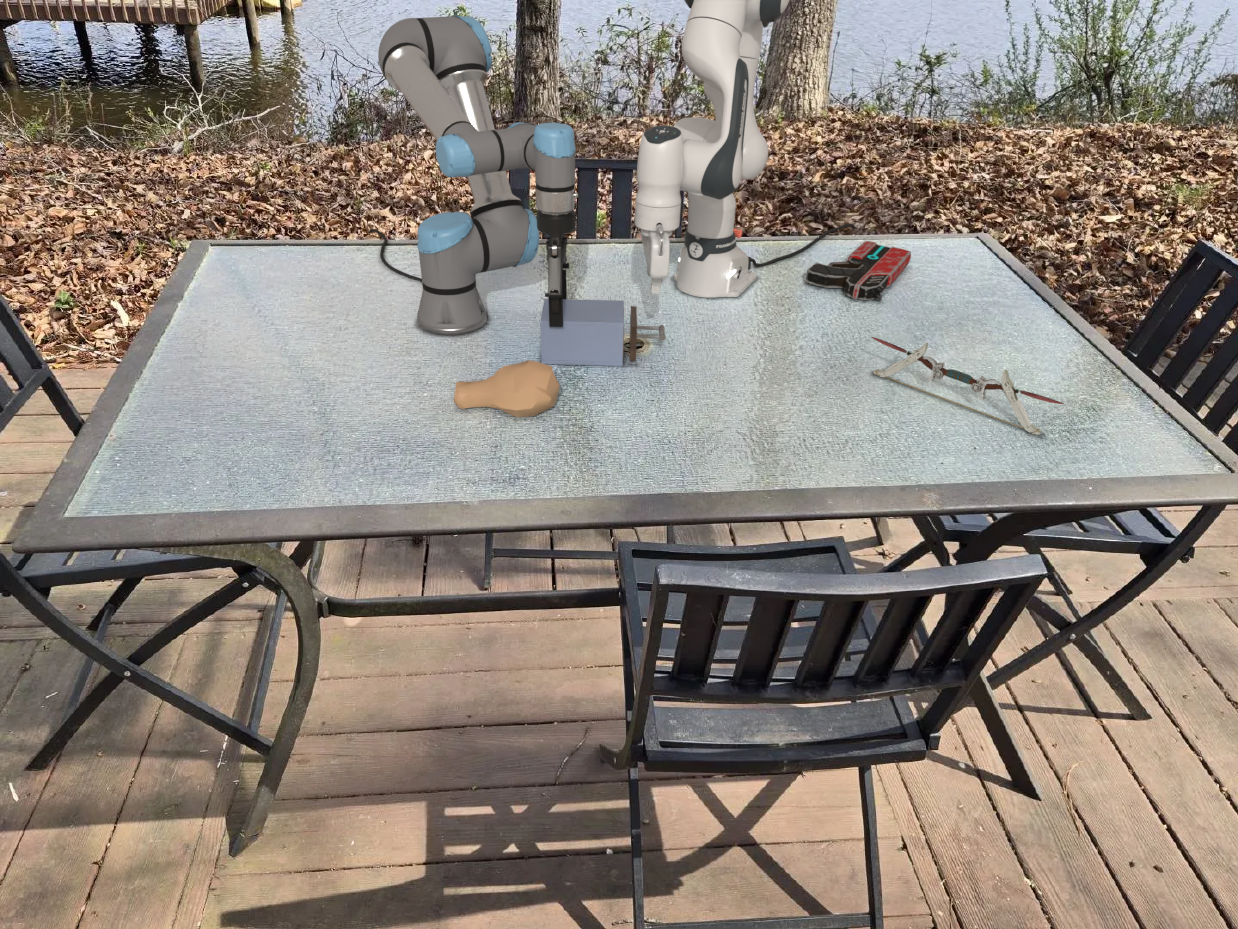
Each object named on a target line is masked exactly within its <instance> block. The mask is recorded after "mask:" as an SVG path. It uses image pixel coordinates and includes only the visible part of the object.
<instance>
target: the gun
mask: <svg viewBox="0 0 1238 929" xmlns="http://www.w3.org/2000/svg"><path fill="white" fill-rule="evenodd" d="M911 259H912V251H911V250H908V249H905V248H904V249H903V248H899V247H895V246H892V247H890V246H885V245H881V244H878V243H877V242H875V241H870V240H864V241H863V242H862V243H861V244H860V245H858V246H857V247H856V248H855V249H854V250H853V251H852V252H851V253H850V254H849V256H848V258H847V260H846V261H830V262H829V263H828V264H823V263H820V262H817V261H816V262H815V263H814V264H813V265H810V267H809V268H807V269H806V276H805V282H806V283H808V284H810V285H814V286H816V287H820V288H826V289H844V290H843V293H844V294H845V295H846V296H847V297H850V298H851V299H852V300H862V301H869V300H876V301H878V302H881V300H882V297H883V296H882V293H883V292H884V291H885V290H886V289H888V288H889V287H890V286H892V284H893V283H895V281H896V280H898V278H899V277H900V275H901V274H903V272H904V271H905V269H906V268H907V266H908V265H909V263H910V261H911Z"/></svg>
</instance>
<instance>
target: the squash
mask: <svg viewBox="0 0 1238 929" xmlns="http://www.w3.org/2000/svg"><path fill="white" fill-rule="evenodd" d="M454 385H455V389H454V394H453V395H454V397H453V403H454V404H455V405H456V406H457V407H458V409H460V410H463V409H470V408H482V407H483V408H485V407H486V408H491V409H498V410H500V411H502V412H504V413H506V414H507V415H510V416H513V417H515V418H525V417H526V418H528V417H529V418H530V417H536V416H539V415H540V414H542V413H545V411H546V412H547V411H548V410H550V409H552V408H554V406H555V404H556V402H557V401H558V397H559V393H560V388H561V386H560V383H559V382H558V379H557V377H556V375H555V373H554V370H553V366H552V365H550V364H543V363H542V362H539V361H535V360H529V359H528V360H524V361H521V362H518V363H512V364H507V365H503V366H502V367H500V368H499V369H497V370H496V371H495V373H494V374H493V375H491V376H489V377H488V378H486V379H482V380H481V379H480V380H473V381H463V380H462V381H461V380H459V381H457V382H455V384H454Z"/></svg>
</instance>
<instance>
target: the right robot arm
mask: <svg viewBox="0 0 1238 929" xmlns="http://www.w3.org/2000/svg"><path fill="white" fill-rule="evenodd" d="M683 1H684V2H685V4H686V5H687V7H688V9H690V11H689V14H688V17H687V20H686V25H685V26H684V31H683V35H682V36H683V37H682V41H681V55H682V59H683V60H684V64H685V66H687V69H689V70H690V71H691V73H692V74H693V75H694V76H696V77H697V78H698V79H699V80H700V81H702V82H703V85H702V87H703V92H704V94H705V96H706V98H707V99H708V100H709V101H710V102H711V104H712V107H713V109H714V110H713V111H714V116H715V120H713V119H710V118H705V117H702V116H698V117H697V116H696V117H691V116H690V117H683V118H680V119H679V120H677V121H676V123H674V125H673V126H671V125H666V124H665V125H664V124H663V125H657V126H652V127H650V128H647V129H645V131H644V132H643V133H642V135H641V138H640V143H639V148H638V155H637V163H636V182H637V191H636V194H635V201H634V203H635V204H634V205H635V206H634V226H636V227H637V228H638V229H640V235H641V243H642V244H641V245H642V247H643V253H644V258H645V261H646V273H647V276H648V277H649V278H650V279H651V282H650V291H651V294H653V295H659V294H661V289H662V283H663V280H665V279H668V278H669V275H670V257H671V254H670V253H671V241H670V237H671V236H672V235H673V232H674V230H677V229H678V228H679V227H680V223H681V207H682V197H681V191H682V192H687V201H688V202H687V204H688V205H687V227H686V229H685V230H684V231H685V232H684V237H683V238H684V242H683V243H684V246H683V247H682V248H681V249H680V253H679V257H678V266H677V272H676V273H673V277H672V278H673V280H674V281H675V282H676V287H677V289H678V290H679V291H681V292H682V293H684V294H687V295H688V296H693V297H696V298H697V297H699V298H707V299H708V298H709V299H711V298H712V299H713V298H723V297H724V298H738V297H740V295H742V293H744V292H745V290H746V289H748V288H749V287H750V286H751V285H752V284H753V283H754V282H755V281H756V279H757V273H756V272H754V271H752V270H751V265H753V267H755V268H760V267H765V266H769V265H772V264H774V263H777V262H779V261H783V260H785V259H789V258H791V257H794V256H796V255H799V254H801V253H803V252H804V251H806V250H807V249H809V248H810V247H812V246H813V245H815V244H816V243H817V242H819V241H820V240H821V239H823V238H824V237H827V235H829V234H831V233H834V232H837V231H839V230H843V229H845V228H852V229H853V230H855V229H857V227H856V226H855V225H854V224H853V223H845V224H842V225H839V226H837V227H833V228H831V229H828V230H827V231H825V232H824V233H822V234H821V235H819V236H817V237H816V238H815V239H813V240H812V241H810V242H809V243H808V244H806V245H804V246H803V247H802V248H800V249H797V250H796V251H793V252H790V253H788V254H785V255H782V256H777V257H776V258H772V259H771V260H768V261H765V262H763V263H757V260H755V258H752V256H748V254H747V253H746V252H745V251H743V250H742V249H741V248H740V247H739V246H738V245H737V239H741V238H742V236H743V230H742V229H738V228H735V219H736V218H735V217H736V209H737V201H736V196H735V195H734V194H733V193H734V192H736V191H737V190H738V189H739V187H740V185H741V182H742V180H753V179H755V178H756V177H758V176H759V175H760V174H761V173H762V172H763V170H764V169H765V167H766V166H767V163H768V159H769V146H768V143H767V139H766V138H765V137H764V136H763V134H762V133H761V131H760V128H759V125H758V123H757V120H756V114H755V107H754V94H755V92H754V91H755V87H756V86H755V85H756V79H757V78H756V77H757V72H758V67H759V61H760V55H761V49H762V42H763V30H764V29H766V28H767V27H768V26H769V25H770V24H771V23H774V22H776V21H777V20H778V19H780V18H781V17H782V16H783V15H784V14H785V10H786V9H787V7H788V5H789V3H790V0H683ZM763 28H764V29H763ZM818 237H819V238H818Z"/></svg>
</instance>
